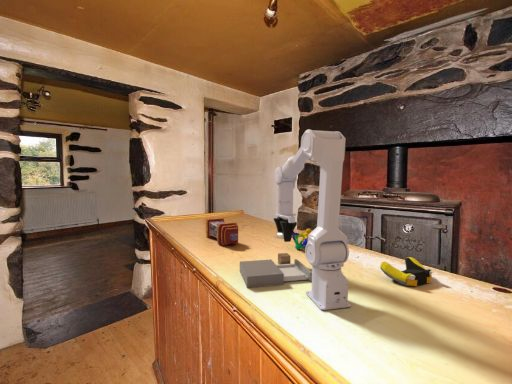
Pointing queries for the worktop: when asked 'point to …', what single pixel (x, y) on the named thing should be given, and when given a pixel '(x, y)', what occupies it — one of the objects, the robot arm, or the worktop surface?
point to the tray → (295, 271)
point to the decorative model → (305, 239)
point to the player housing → (261, 273)
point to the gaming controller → (408, 273)
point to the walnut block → (283, 258)
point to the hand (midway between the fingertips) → (284, 239)
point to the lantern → (222, 231)
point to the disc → (280, 235)
